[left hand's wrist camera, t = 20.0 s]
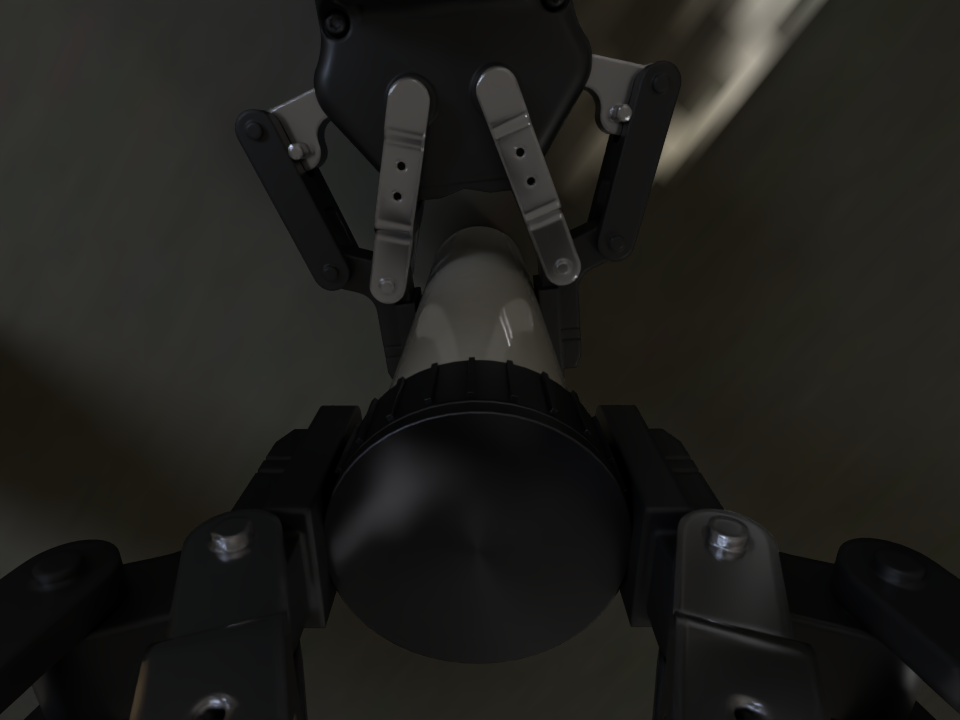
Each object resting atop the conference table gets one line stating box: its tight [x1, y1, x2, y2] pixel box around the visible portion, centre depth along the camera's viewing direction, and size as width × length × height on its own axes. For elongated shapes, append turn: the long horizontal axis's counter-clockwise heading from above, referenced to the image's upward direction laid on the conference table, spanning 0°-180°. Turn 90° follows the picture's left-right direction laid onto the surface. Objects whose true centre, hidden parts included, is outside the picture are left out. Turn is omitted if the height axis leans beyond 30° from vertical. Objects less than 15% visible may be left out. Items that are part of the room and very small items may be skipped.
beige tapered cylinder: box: [389, 226, 568, 391], centre depth 18 cm, size 4×4×18 cm
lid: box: [323, 357, 633, 664], centre depth 10 cm, size 5×5×2 cm
